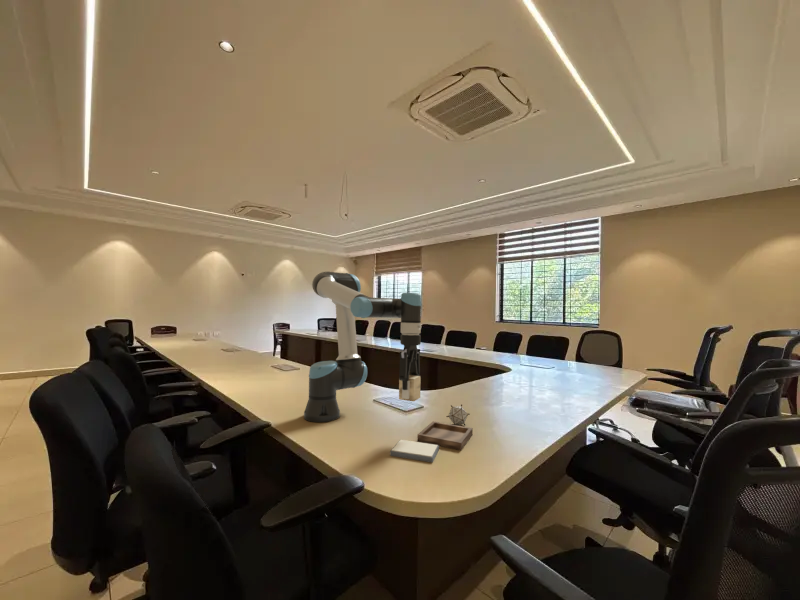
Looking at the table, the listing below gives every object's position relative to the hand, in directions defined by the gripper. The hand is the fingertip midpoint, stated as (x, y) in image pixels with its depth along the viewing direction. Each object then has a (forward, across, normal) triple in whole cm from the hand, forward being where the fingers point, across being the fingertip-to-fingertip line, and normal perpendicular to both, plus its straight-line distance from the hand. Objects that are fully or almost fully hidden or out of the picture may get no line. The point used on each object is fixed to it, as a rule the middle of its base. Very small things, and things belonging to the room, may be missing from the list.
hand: (409, 396), depth 124 cm
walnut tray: (+15, +6, -12) cm, 20 cm away
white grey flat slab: (+15, -11, -7) cm, 20 cm away
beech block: (+1, 0, 0) cm, 1 cm away
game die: (+15, +22, -12) cm, 29 cm away
